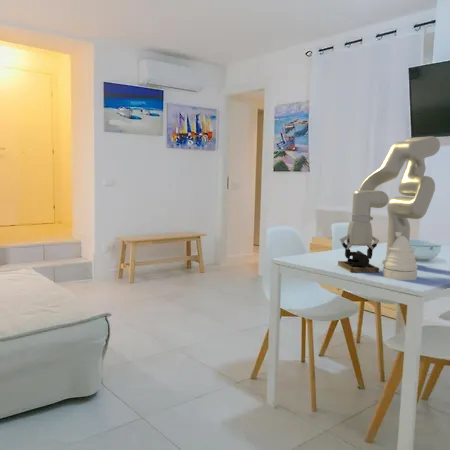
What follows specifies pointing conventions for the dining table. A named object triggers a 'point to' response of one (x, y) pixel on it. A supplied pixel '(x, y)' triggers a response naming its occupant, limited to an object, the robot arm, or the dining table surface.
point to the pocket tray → (367, 269)
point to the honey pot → (400, 260)
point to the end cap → (358, 260)
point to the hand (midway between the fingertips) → (358, 258)
